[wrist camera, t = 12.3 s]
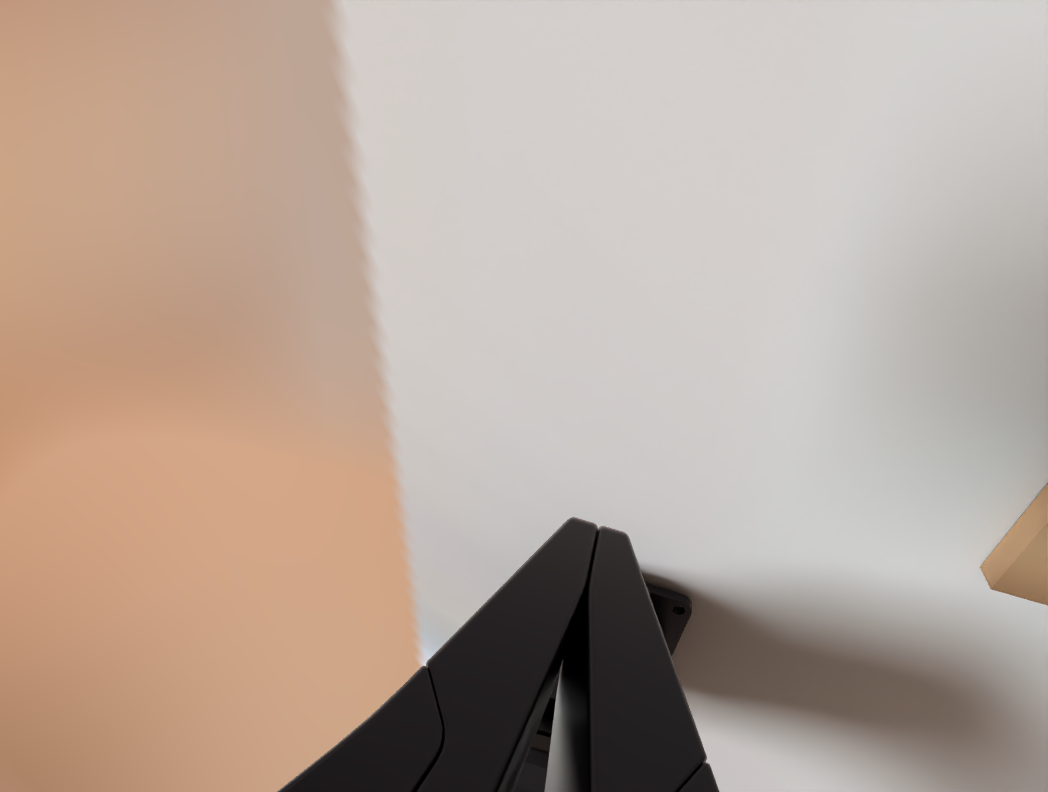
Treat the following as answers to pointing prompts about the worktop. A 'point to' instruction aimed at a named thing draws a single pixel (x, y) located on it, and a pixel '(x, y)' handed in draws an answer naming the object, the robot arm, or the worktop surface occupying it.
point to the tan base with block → (1023, 555)
